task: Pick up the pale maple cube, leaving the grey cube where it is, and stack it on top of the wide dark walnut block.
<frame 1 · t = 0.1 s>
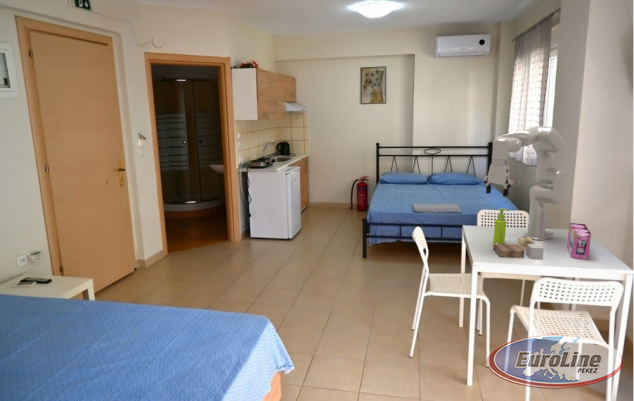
hand: (496, 194, 232), 31 cm above the table, tool pointing down, fingers open, 9 cm apart
maple cube: (524, 249, 241), on the table
grey cube: (534, 257, 229), on the table
walnut block: (507, 254, 234), on the table
soap dispenser: (499, 243, 253), on the table
gum box: (576, 252, 236), on the table
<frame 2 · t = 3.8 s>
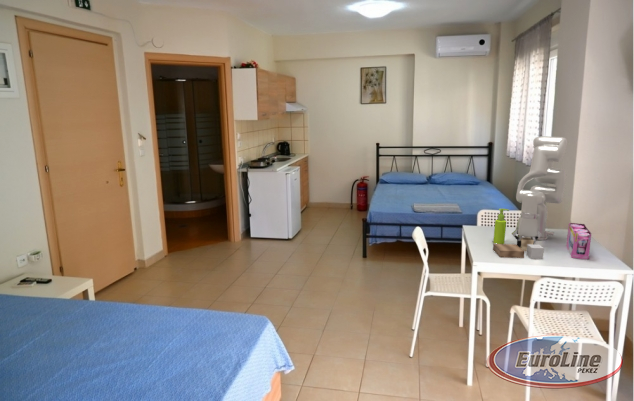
hand: (525, 247, 241), 1 cm above the table, tool pointing down, fingers closed on maple cube, 6 cm apart
maple cube: (524, 249, 241), on the table, touching gripper
everything else where it was.
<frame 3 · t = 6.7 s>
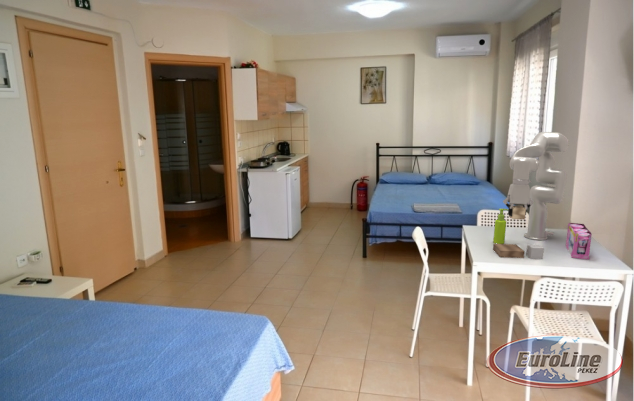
hand: (516, 215, 231), 20 cm above the table, tool pointing down, fingers closed on maple cube, 6 cm apart
maple cube: (516, 218, 232), point 19 cm above the table, touching gripper
everything else where it was.
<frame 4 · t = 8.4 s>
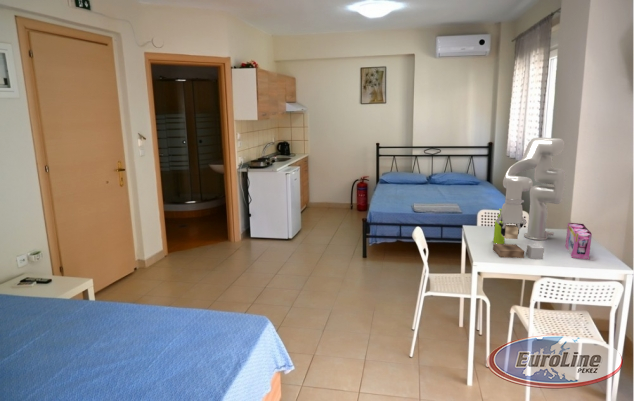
hand: (509, 235, 231), 10 cm above the table, tool pointing down, fingers closed on maple cube, 6 cm apart
maple cube: (509, 237, 231), point 9 cm above the table, touching gripper
everything else where it was.
when the fingers open (6 cm above the table, at t = 9.8 s): maple cube drops 1 cm, resting on walnut block.
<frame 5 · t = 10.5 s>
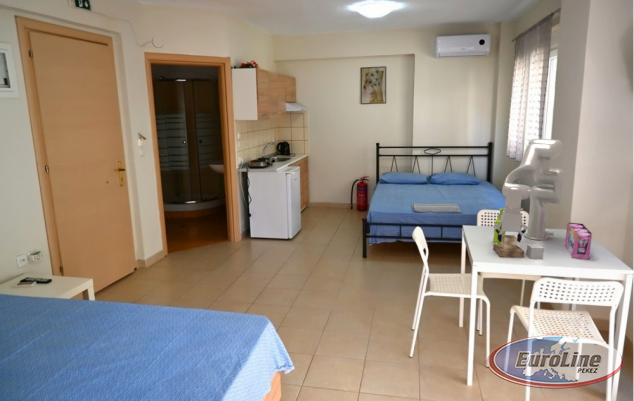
hand: (509, 241, 232), 7 cm above the table, tool pointing down, fingers open, 9 cm apart
maple cube: (508, 247, 233), point 4 cm above the table, touching walnut block
walnut block: (507, 254, 234), on the table, touching maple cube
everything else where it was.
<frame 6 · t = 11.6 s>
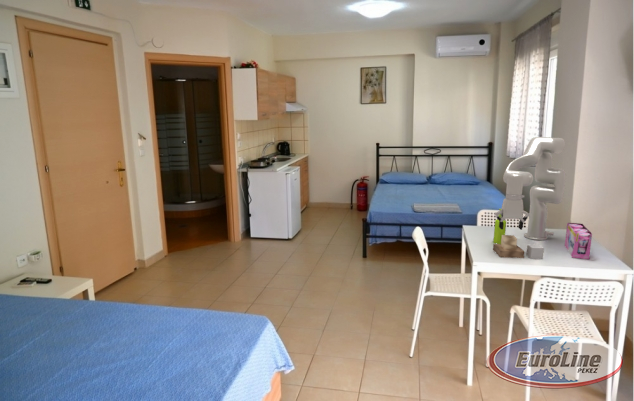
hand: (510, 228, 231), 14 cm above the table, tool pointing down, fingers open, 9 cm apart
nothing on the table moved.
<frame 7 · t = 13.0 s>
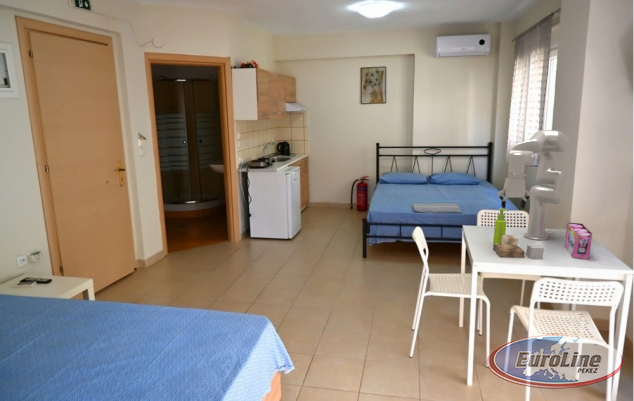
hand: (512, 207, 233), 24 cm above the table, tool pointing down, fingers open, 9 cm apart
maple cube: (508, 247, 233), point 3 cm above the table
walnut block: (507, 254, 234), on the table
everything else where it was.
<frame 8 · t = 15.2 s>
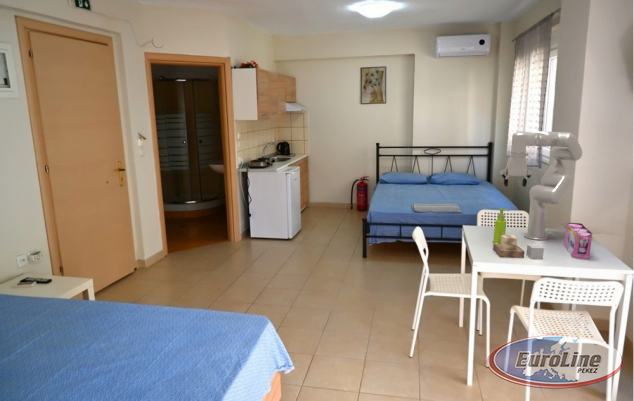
hand: (514, 186, 245), 33 cm above the table, tool pointing down, fingers open, 9 cm apart
nothing on the table moved.
at the end: maple cube inside the target area on the walnut block (0.1 cm from its centre), point 4.0 cm above the walnut block's base; maple cube tilted 0°; the gripper is holding nothing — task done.
